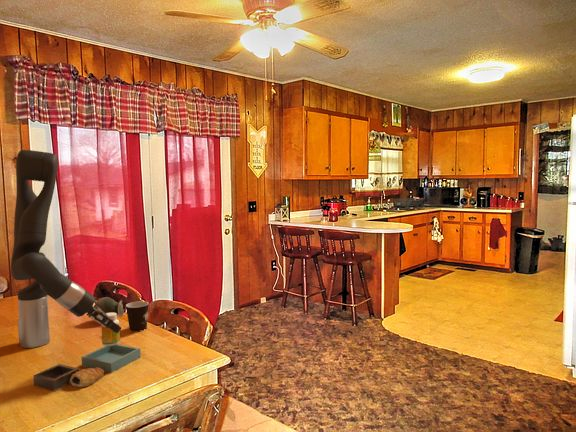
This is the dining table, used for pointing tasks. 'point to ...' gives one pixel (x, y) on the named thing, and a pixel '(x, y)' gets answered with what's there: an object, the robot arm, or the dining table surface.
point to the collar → (47, 377)
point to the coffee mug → (137, 315)
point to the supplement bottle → (110, 332)
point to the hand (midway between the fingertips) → (116, 328)
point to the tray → (111, 357)
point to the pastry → (86, 377)
